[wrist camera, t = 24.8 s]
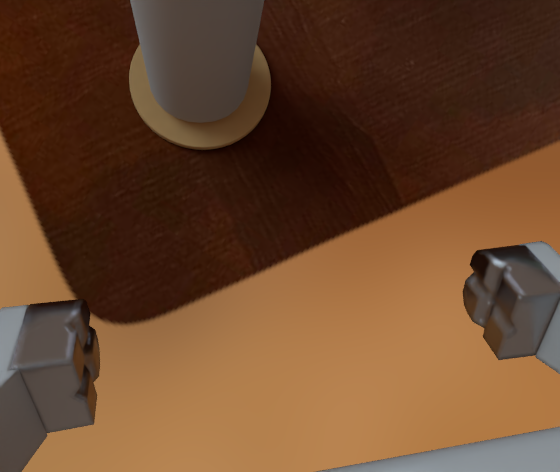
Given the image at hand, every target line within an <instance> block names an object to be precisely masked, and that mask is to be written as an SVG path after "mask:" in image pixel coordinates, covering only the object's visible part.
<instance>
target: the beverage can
mask: <svg viewBox="0 0 560 472" xmlns="http://www.w3.org/2000/svg"><path fill="white" fill-rule="evenodd" d="M130 2H131V6H132V10H133V15H134V19H135V24H136V28H137V32H138V37H139V41H140V46H141V50H142V54H143V59H144V63H145V68H146V72H147V76H148V81H149V85H150V90H151V92H152V94H153V96H154V98H155V100H156V102H157V103H158V104H159V105H160V106H161V107H162V108H163V109H164V110H165V111H166V112H167V113H169V114H171V115H172V116H174V117H175V118H178V119H181V120H184V121H188V122H198V123H204V122H213V121H217V120H220V119H222V118H225V117H227V116H229V115H230V114H231V113H232V112H234V111H235V110H236V109H237V108H238V107H239V105H240V104H241V102H242V101H243V100H244V97H245V94H246V91H247V88H248V84H249V78H250V73H251V68H252V62H253V57H254V51H255V46H256V41H257V35H258V30H259V25H260V19H261V14H262V9H263V3H264V0H130Z"/></svg>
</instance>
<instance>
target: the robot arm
mask: <svg viewBox="0 0 560 472" xmlns="http://www.w3.org/2000/svg"><path fill="white" fill-rule="evenodd" d="M470 266H471V267H472V269H473V271H474V273H473V274H472V275H471V276H470V277H468V278H467V280H466V281H465V285H464V289H463V299H464V306H465V308H466V311H467V313H468V315H469V316H470V318H471V320H472V321H473V322H474V323H476V324H478V325H480V326H481V327H483V328H484V334H483V338H484V339H485V341H486V342H487V344H488V345H489V346H490V348H491V349H492V351H493V352H494V354H495V355H496V357H497V358H498V360H503V359H509V358H518V357H526V356H533V355H536V358H537V359H539V360H540V361H542V362H543V363H545V364H546V365H548V366H549V367H550V368H552V369H553V370H555V371H556V372H558V373H559V374H560V255H559V254H558V253H557V252H556V251H555V250H554V249H553V248H552V247H551V246H550V245H549V244H547V243H545V242H542V241H540V242H532V243H526V244H520V245H514V246H507V247H499V248H491V249H483V250H477V251H476V252H475V253H474V255H473V256H472V260H471V263H470ZM89 321H90V311H89V308H88V305H87V302H86V301H85V300H84V299H77V300H68V301H58V302H48V303H38V304H30V305H23V306H13V307H4V308H1V310H0V472H22V470H23V469H24V467H25V466H26V465H27V463H28V462H29V460H30V459H31V458H32V456H33V455H34V453H35V452H36V451H37V449H38V448H39V447H40V445H41V444H42V442H43V441H44V440H45V438H46V437H47V433H50V432H56V431H61V430H66V429H72V428H77V427H82V426H88V425H93V424H94V419H95V409H96V400H97V393H96V390H95V387H94V383H93V382H94V381H95V380H96V379H97V378H98V377H99V369H100V352H99V344H98V338H97V335H96V331H95V329H93V328H92V327H90V326H89ZM317 472H560V427H556V428H551V429H545V430H539V431H534V432H529V433H523V434H518V435H512V436H508V437H502V438H497V439H491V440H485V441H480V442H475V443H469V444H464V445H459V446H453V447H448V448H442V449H437V450H431V451H426V452H421V453H415V454H410V455H404V456H399V457H393V458H388V459H383V460H377V461H372V462H366V463H361V464H355V465H350V466H345V467H339V468H333V469H328V470H322V471H317Z"/></svg>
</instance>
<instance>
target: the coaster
mask: <svg viewBox="0 0 560 472" xmlns="http://www.w3.org/2000/svg"><path fill="white" fill-rule="evenodd" d="M129 84H130V91H131V96H132V99H133V102H134V105H135V107H136V109H137V111H138V113H139V115H140V117H141V118H142V119H143V121H144V122H145V123H146V124H147V125H148V126H149V128H150V129H151V130H152V131H154V132H155V133H156V134H157V135H159V136H160V137H162V138H163V139H165V140H167V141H168V142H171V143H173V144H175V145H178V146H181V147H185V148H190V149H197V150H209V149H217V148H221V147H225V146H228V145H231V144H233V143H235V142H237V141H239V140H240V139H242V138H243V137H245V136H246V135H247V134H249V133H250V132H251V131H252V130H253V129H254V128H255V127H256V125H257V124H258V123H259V122H260V120H261V118H262V117H263V115H264V113H265V111H266V108H267V105H268V102H269V98H270V92H271V77H270V71H269V67H268V64H267V62H266V59H265V57H264V55H263V53H262V51H261V50H260V48H259V47H258V46H257V44H256V46H255V51H254V57H253V62H252V68H251V73H250V78H249V84H248V88H247V91H246V94H245V97H244V100H243V101H242V102H241V104H240V105H239V107H238V108H237V109H236V110H235V111H234V112H232V113H231V114H230V115H229V116H227V117H225V118H222V119H220V120H217V121H213V122H204V123H198V122H188V121H184V120H181V119H178V118H175V117H174V116H172V115H171V114H169V113H167V112H166V111H165V110H164V109H163V108H162V107H161V106H160V105H159V104H158V103H157V102H156V100H155V98H154V96H153V94H152V92H151V90H150V85H149V81H148V76H147V72H146V68H145V63H144V59H143V54H142V50H141V46H140V45H139V47H138V48H137V50H136V52H135V54H134V57H133V59H132V62H131V67H130V73H129Z"/></svg>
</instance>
